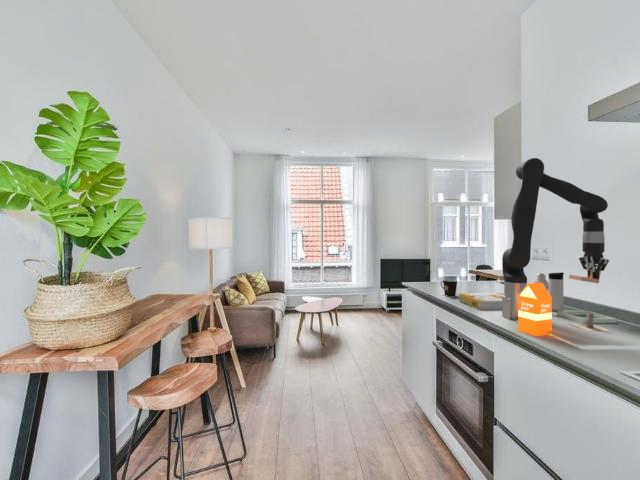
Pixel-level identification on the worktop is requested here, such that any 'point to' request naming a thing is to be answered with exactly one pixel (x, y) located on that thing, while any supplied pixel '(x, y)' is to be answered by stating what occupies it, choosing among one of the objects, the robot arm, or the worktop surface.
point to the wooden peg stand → (589, 325)
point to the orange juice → (535, 310)
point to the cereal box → (482, 300)
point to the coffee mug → (449, 287)
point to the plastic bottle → (542, 280)
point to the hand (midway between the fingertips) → (593, 279)
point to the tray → (598, 319)
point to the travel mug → (556, 290)
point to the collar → (586, 277)
